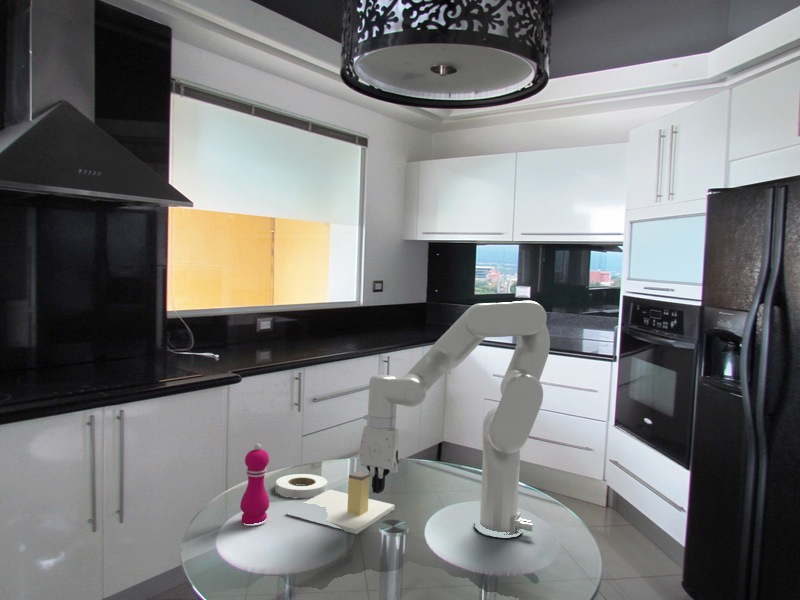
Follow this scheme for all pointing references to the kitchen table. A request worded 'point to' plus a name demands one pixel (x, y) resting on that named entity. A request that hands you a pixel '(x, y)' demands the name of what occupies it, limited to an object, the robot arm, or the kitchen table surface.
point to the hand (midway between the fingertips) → (377, 491)
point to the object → (289, 489)
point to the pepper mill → (255, 487)
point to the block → (358, 493)
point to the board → (348, 521)
